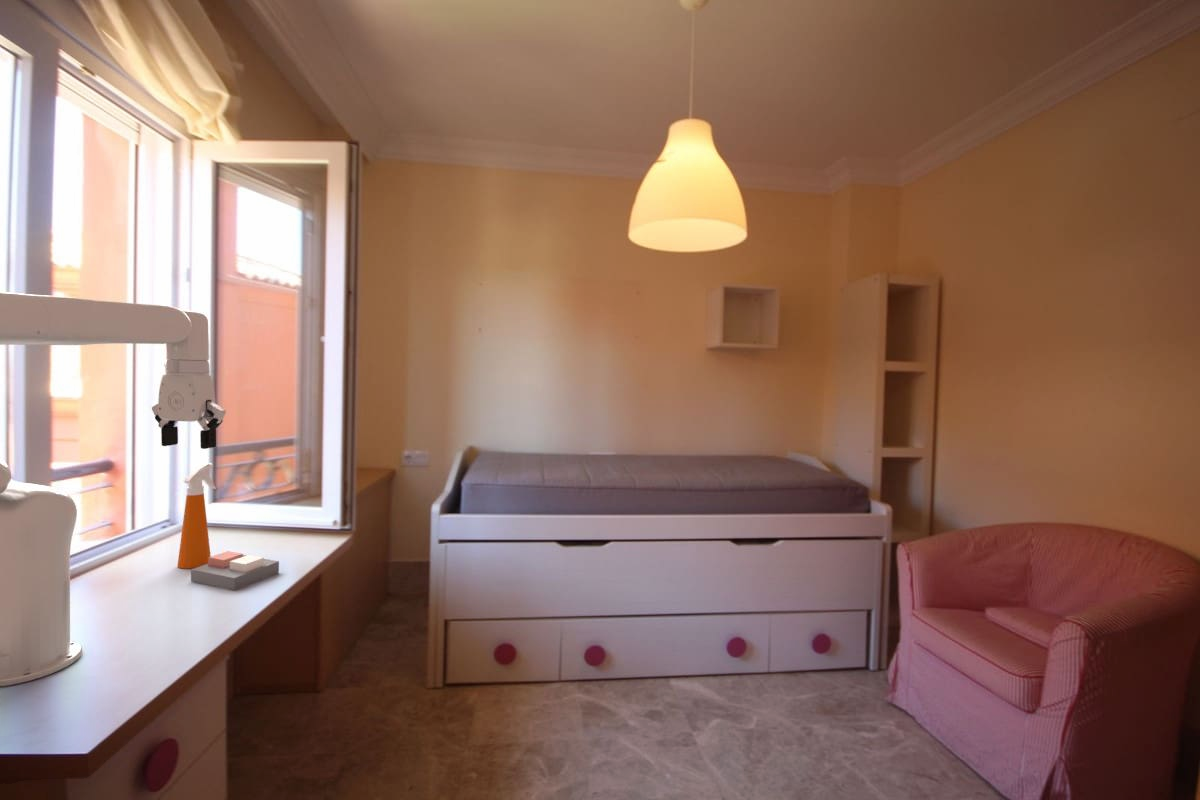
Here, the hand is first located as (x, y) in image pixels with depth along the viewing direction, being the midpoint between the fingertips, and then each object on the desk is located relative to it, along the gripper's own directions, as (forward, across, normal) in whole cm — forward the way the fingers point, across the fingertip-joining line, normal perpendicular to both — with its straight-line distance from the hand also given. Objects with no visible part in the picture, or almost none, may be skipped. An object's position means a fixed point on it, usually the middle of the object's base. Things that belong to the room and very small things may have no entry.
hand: (189, 446), depth 112 cm
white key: (+33, +1, +14) cm, 36 cm away
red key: (+33, -6, +15) cm, 37 cm away
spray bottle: (+36, -20, +21) cm, 46 cm away
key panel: (+36, -3, +15) cm, 39 cm away
